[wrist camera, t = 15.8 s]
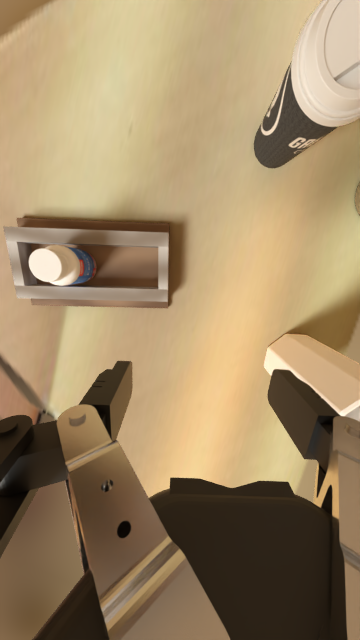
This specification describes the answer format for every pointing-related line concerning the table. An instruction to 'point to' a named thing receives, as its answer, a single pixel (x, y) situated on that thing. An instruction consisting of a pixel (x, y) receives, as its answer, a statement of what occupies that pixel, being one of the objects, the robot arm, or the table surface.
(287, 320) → the table surface
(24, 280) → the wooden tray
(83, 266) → the pill bottle
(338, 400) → the cup
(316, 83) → the coffee cup
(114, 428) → the robot arm
